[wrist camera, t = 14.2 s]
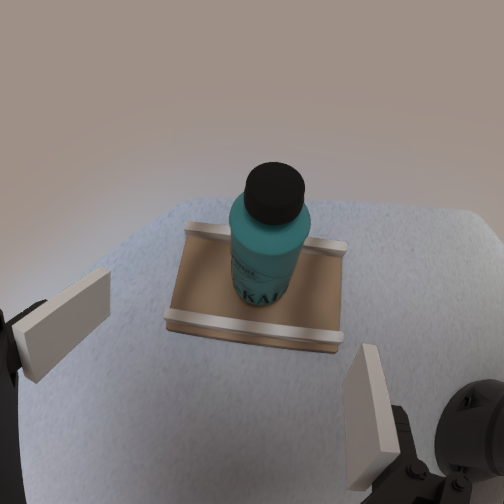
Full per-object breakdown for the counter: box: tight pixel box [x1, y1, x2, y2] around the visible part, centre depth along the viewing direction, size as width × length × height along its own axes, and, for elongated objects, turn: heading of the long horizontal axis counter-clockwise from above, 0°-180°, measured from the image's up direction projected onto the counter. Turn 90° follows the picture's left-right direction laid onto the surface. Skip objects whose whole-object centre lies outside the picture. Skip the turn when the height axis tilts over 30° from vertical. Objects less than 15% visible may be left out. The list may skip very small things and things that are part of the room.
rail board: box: [163, 221, 347, 354], centre depth 38 cm, size 20×14×4 cm
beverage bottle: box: [229, 162, 311, 306], centre depth 29 cm, size 6×7×20 cm
